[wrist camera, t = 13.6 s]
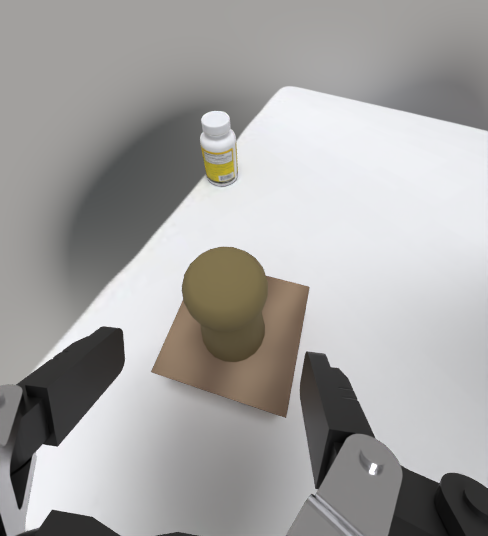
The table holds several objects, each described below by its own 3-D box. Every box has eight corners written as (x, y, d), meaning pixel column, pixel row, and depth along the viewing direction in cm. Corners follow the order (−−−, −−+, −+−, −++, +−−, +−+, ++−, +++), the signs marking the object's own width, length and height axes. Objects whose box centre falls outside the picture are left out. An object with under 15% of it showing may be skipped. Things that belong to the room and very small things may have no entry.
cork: (193, 312, 24) (156, 251, 14) (249, 289, 25) (250, 218, 15) (214, 373, 21) (185, 349, 11) (276, 345, 22) (298, 301, 12)
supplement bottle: (216, 162, 44) (209, 104, 35) (243, 171, 42) (242, 113, 34) (200, 181, 41) (188, 123, 33) (228, 191, 40) (223, 134, 32)
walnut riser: (298, 306, 30) (309, 286, 25) (277, 414, 24) (286, 417, 19) (208, 282, 32) (201, 259, 27) (170, 378, 26) (151, 371, 21)
